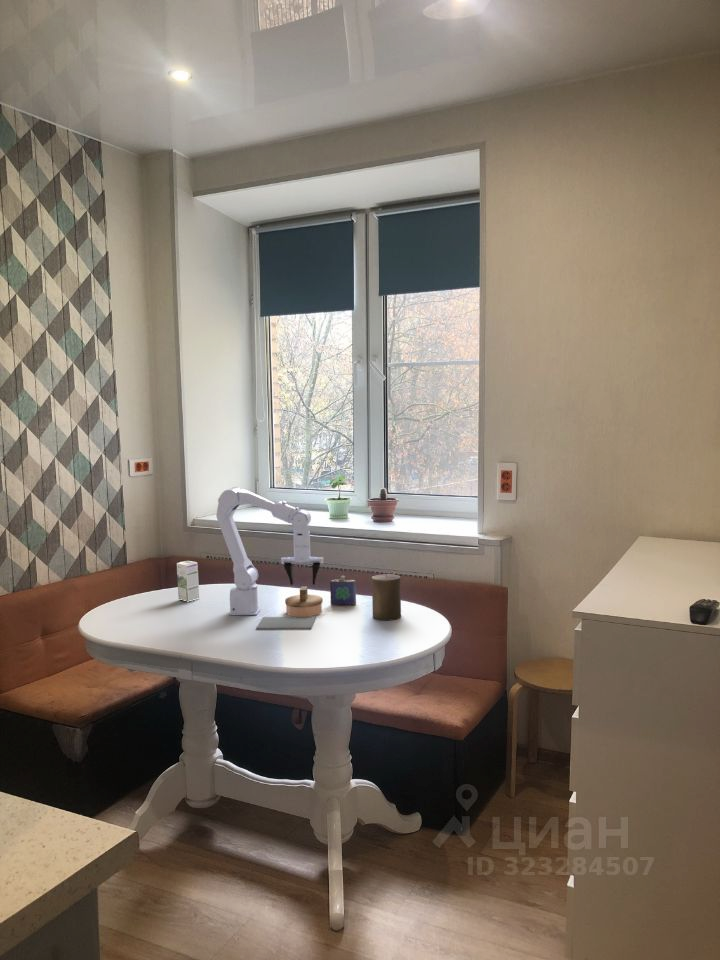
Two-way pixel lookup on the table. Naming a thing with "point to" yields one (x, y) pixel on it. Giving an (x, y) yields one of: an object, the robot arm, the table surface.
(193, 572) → the syrup box
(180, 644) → the table surface
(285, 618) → the mat
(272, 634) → the table surface
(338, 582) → the flask
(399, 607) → the pillar candle
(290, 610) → the bowl
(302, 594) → the lid
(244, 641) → the table surface
